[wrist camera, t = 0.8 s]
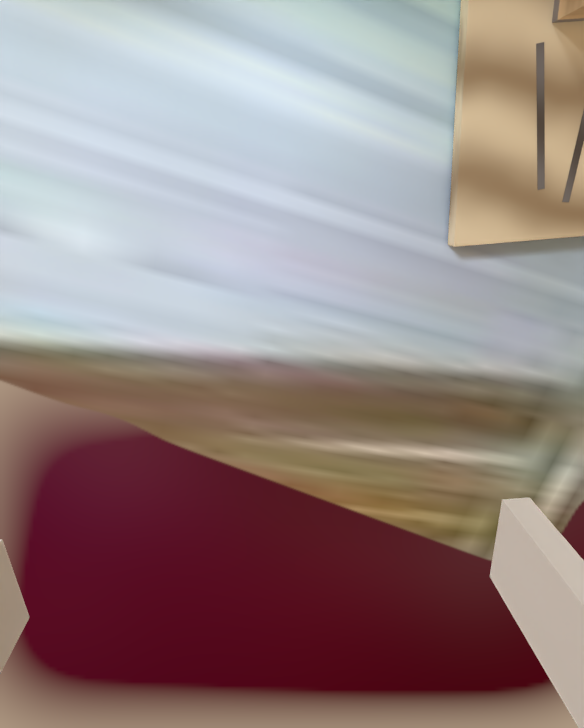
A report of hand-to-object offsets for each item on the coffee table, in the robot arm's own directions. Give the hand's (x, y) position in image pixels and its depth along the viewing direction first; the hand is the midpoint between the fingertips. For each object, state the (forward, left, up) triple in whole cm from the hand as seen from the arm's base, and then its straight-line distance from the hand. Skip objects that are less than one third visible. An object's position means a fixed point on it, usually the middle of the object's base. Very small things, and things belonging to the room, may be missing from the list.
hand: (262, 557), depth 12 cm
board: (-14, +23, -26) cm, 37 cm away
